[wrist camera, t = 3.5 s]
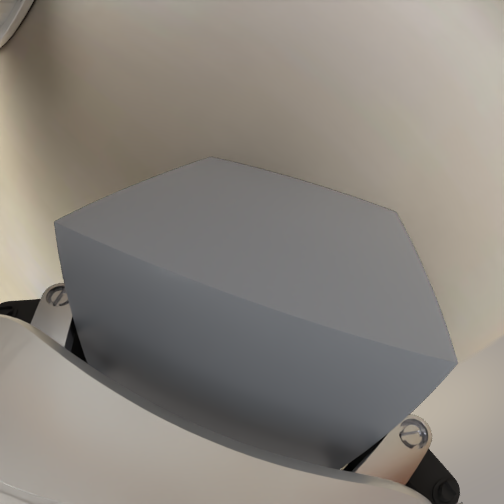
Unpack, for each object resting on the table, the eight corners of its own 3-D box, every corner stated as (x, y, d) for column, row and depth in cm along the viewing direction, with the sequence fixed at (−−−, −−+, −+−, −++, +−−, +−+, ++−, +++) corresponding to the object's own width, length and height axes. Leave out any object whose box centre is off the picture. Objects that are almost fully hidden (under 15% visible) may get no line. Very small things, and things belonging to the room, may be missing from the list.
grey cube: (210, 156, 11) (53, 221, 5) (396, 212, 10) (457, 363, 3) (193, 301, 15) (107, 410, 9) (331, 350, 14) (304, 491, 7)
